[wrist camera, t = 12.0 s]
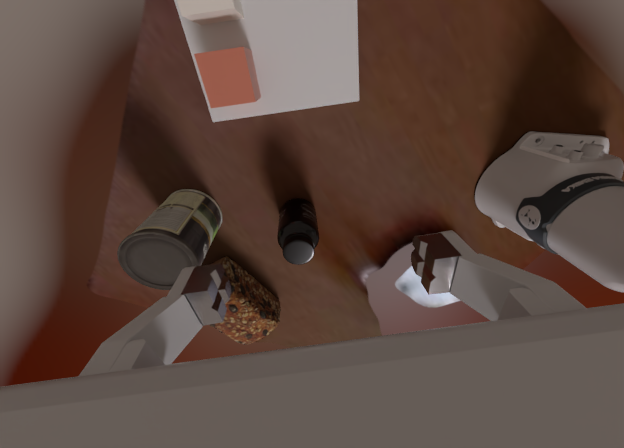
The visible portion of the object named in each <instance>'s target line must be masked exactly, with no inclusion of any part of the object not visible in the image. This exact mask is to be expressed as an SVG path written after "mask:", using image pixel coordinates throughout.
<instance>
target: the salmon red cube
mask: <svg viewBox="0 0 624 448" xmlns="http://www.w3.org/2000/svg"><path fill="white" fill-rule="evenodd" d="M194 56H195V59H196V62H197V65H198V68H199V71H200V75H201V78H202V81H203V84H204V87H205V91H206V94H207V97H208V100H209V103H210V107H211V108H217V107H224V106H231V105H238V104H245V103H252V102H256V101H257V100H259V99H260V98H261V94H260V89H259V84H258V80H257V75H256V70H255V65H254V61H253V56H252V51H251V50H250V49H248V48H245V47H237V48H230V49H224V50H217V51H210V52H204V53H197V54H194Z"/></svg>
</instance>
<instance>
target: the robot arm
mask: <svg viewBox="0 0 624 448" xmlns="http://www.w3.org/2000/svg"><path fill="white" fill-rule="evenodd" d="M536 139H537V140H536ZM608 152H609V140H608V138H606V137H603V136H595V135H580V134H564V133H549V132H533V131H532V132H528V133H526V134H525V135H524V136H523V137H522V138H521V139H520V140H519V141H518V142H517V143H516V144H515V146H514V147H513V148H512V149H510V150H509V151H508V152H506V153H505V154H503V155H502V156H500V157H499V158H498V159H496V160H495V161H494V162H493V163H492V164H491V165H490V166H489V167H488V168H487V169H486V171H485V172H484V173H483V175H482V176H481V178H480V180H479V182H478V184H477V187H476V191H475V202H476V205H477V207H478V209H479V210H480V211H481V212H482V213H484V214H485V215H487V216H489V217H491V218H492V220H493V222H494V224H495V225H496V226H498V227H500V228H503V227H507V228H508V229H510V230H512V231H513V232H515V233H517V234H519V235H520V236H522V237H524V238H526V239H527V240H530V241H534V242H536V243H537V244H538V245H539V246H540V247H542V248H544V249H546V250H548V251H550V252H551V253H554V254H559V255H560V256H562V257H563V258H565V259H566V260H568V261H569V262H570V263H572V264H573V265H575V266H576V267H578V268H579V269H581V270H582V271H583V272H585V273H586V274H588V275H589V276H591V277H592V278H594V279H595V280H597V281H598V282H599V283H601V284H602V285H604V286H605V287H608V288H610V289H612V290H615V291H619V292H624V182H623V180H621V177H622V174H623V169H624V165H623V161H622V160H621V159H620V158H619V157H616V156H613V155H610V154H608ZM413 246H414V247H415V249H414V250H413V252H412V254H411V262H412V266H413V269H414V271H415V273H416V274H417V275H418V276H420V277H422V279H421V283H422V284H423V286H424V288H425V289H426V291H427V293H428V294H437V293H446V292H450V293H451V294H452V295H454V296H455V297H457V298H458V299H460V300H461V301H463V302H464V303H466V304H467V305H469V306H470V307H472V308H473V309H475V310H476V311H477V312H479V313H480V314H482V315H483V316H485V317H486V318H488V319H489V320H491V321H489V322H482V323H474V324H467V325H460V326H452V327H445V328H437V329H430V330H422V331H415V332H407V333H400V334H392V335H385V336H377V337H370V338H362V339H355V340H347V341H340V342H332V343H325V344H318V345H310V346H303V347H295V348H288V349H281V350H274V351H265V352H258V353H250V354H243V355H236V356H228V357H221V358H213V359H206V360H198V361H191V362H184V363H176V364H171V363H172V362H173V361H174V360H175V359H176V357H177V356H178V355H179V354H180V353H181V351H182V350H183V349H184V348H185V347H186V346H187V344H188V343H189V342H190V341H191V340H192V338H193V337H194V336H195V335H196V334H197V332H198V331H199V330H200V329H201V328H202V326H204V325H210V324H216V323H222V322H223V321H224V317H225V314H226V310H227V308H226V305H225V304H226V303H227V302H228V301H229V300H230V296H231V285H230V281H229V279H228V278H227V277H226V276H224V272H225V269H224V267H223V265H222V264H220V263H218V264H210V265H201V266H194V267H186V268H184V269H182V271H181V273H180V274H179V276H178V278H177V280H176V281H175V283H174V285H173V287H172V288H171V290H170V292H169V294H168V295H167V297H163V298H161V299H160V300H159V301H158V302H156V303H155V304H154V305H152V306H151V307H150V308H148V309H147V310H146V311H144V312H143V313H142V314H140V315H139V316H138V317H136V318H135V319H134V320H132V321H131V322H130V323H128V324H127V325H126V326H124V327H123V328H122V329H120V330H119V331H118V332H117V333H115V334H114V335H112V336H111V337H110V338H108V339H107V340H106V341H104V342H103V343H102V344H101V346H100V347H99V348H98V350H97V351H96V353H95V354H94V355H93V357H92V358H91V360H90V361H89V362H88V364H87V365H86V367H85V368H84V369H83V371H82V372H81V374H80V375H79V377H72V378H64V379H57V380H50V381H43V382H34V383H28V384H20V385H12V386H5V387H0V448H624V304H616V305H609V306H601V307H594V308H585V307H584V306H583V305H582V304H581V303H579V302H578V301H577V300H576V299H574V298H573V297H572V296H571V295H569V294H568V293H567V292H566V291H565V290H563V289H562V288H561V287H559V286H558V285H557V284H556V283H555V282H552V281H550V280H547V279H544V278H542V277H539V276H537V275H534V274H531V273H529V272H527V271H524V270H521V269H519V268H516V267H514V266H511V265H509V264H506V263H503V262H501V261H498V260H496V259H493V258H491V257H488V256H485V255H483V254H476V253H475V252H474V251H473V250H472V249H471V248H470V247H469V246H468V245H467V244H466V243H465V242H464V241H463V240H462V239H461V238H460V237H459V236H458V235H457V234H456V233H455V232H454V231H445V232H439V233H435V234H428V235H421V236H415V237H414V239H413Z"/></svg>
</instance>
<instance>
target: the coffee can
mask: <svg viewBox="0 0 624 448" xmlns="http://www.w3.org/2000/svg"><path fill="white" fill-rule="evenodd" d="M221 223H222V212H221V209H220V207H219V206H218V204H217V203H216V202H215V200H214V199H212V198H211V197H210V196H209V195H207V194H205V193H203V192H201V191H198V190H194V189H181V190H178V191H175V192H174V193H172V194H171V195H170V196H169V197H168V198H167V199H166V200H165V201H164V202H163V203H162V204H161V205H160V206H159V207H158V208H157V209H156V210H155V211H154V212H153V213H152V214H151V215H150V216H149V217H148V218H147V219H146V220H145V221H144V222H143V223H142V224H141V225H140V226H139V227H138V228H137V229H136V230H135V231H134V232H133V233H132V234H131V235H129V236H128V237H126V238H125V239H124V240H123V241H122V242H121V244H120V246H119V248H118V260H119V263H120V265H121V267H122V268H123V270H124V271H125V272H126V273H127V274H128V275H129V276H130V277H131V278H133V279H134V280H136V281H137V282H139V283H141V284H143V285H146V286H148V287H151V288H155V289H161V290H171V288H172V287H173V285H174V283H175V281H176V280H177V278H178V276H179V274H180V273H181V271H182V269H184V268H186V267H194V266H201V264H202V262H203V260H204V258H205V256H206V254H207V251H208V249H209V247H210V245H211V243H212V241H213V239H214V237H215V235H216V233H217V231H218V229H219V227H220V226H221Z"/></svg>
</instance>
